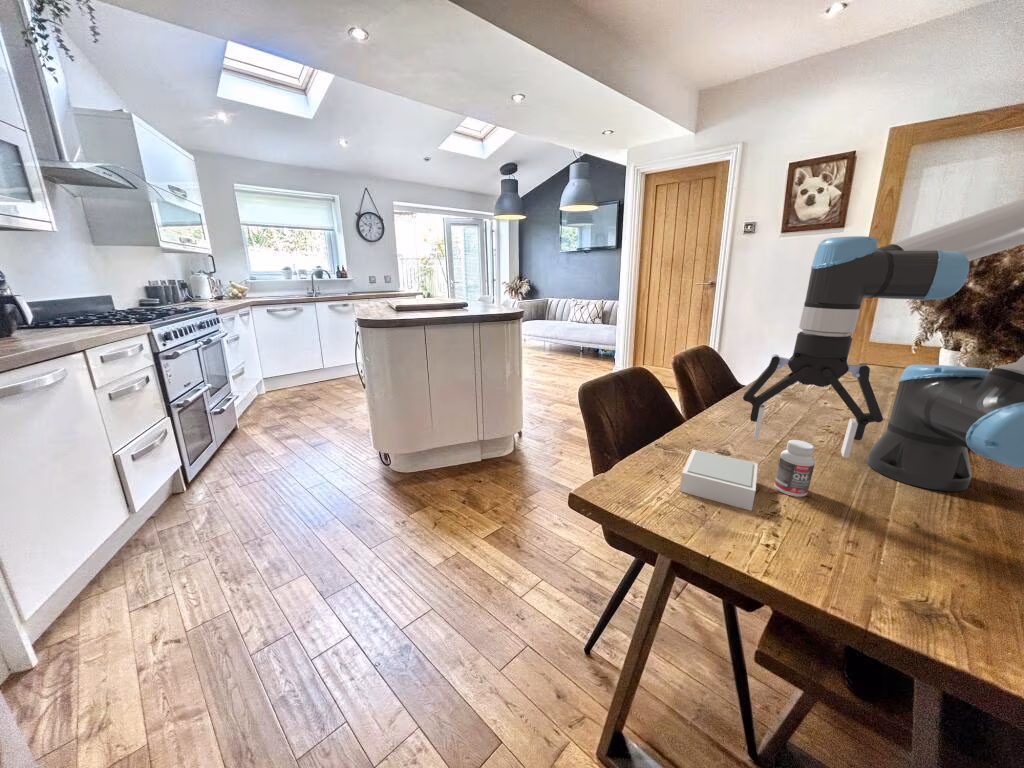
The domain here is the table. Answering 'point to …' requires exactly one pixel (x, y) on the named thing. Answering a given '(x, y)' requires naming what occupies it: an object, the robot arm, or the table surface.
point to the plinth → (720, 479)
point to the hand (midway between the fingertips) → (798, 445)
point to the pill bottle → (795, 469)
